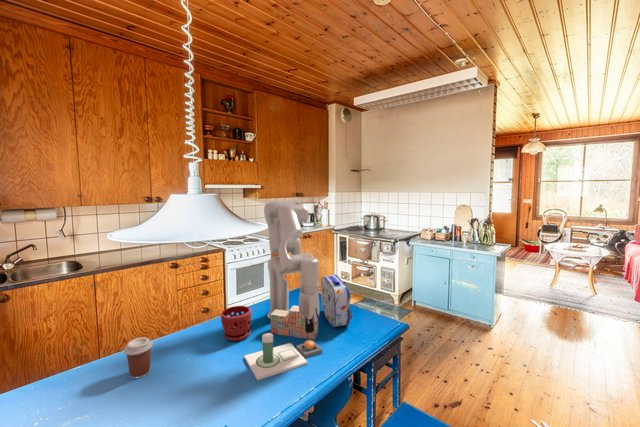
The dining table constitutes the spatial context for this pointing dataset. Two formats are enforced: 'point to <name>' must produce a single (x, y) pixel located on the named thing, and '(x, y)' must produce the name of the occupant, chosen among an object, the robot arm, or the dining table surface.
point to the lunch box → (335, 300)
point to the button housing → (309, 353)
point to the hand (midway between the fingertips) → (309, 331)
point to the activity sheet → (275, 361)
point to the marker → (267, 347)
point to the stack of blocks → (291, 324)
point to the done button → (309, 345)
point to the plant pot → (236, 323)
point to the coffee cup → (138, 356)
